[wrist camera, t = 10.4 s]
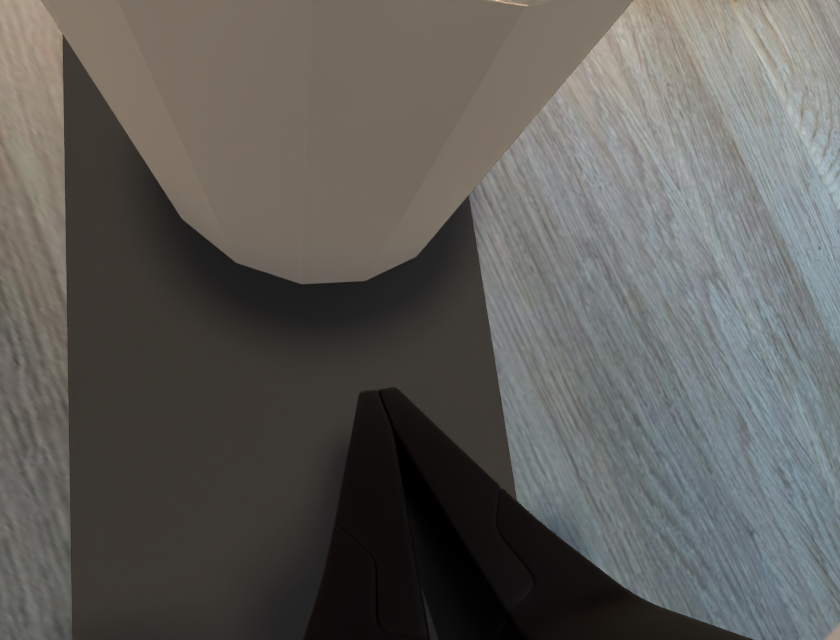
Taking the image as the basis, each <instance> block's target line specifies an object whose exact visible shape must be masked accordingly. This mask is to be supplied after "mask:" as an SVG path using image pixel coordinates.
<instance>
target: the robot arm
mask: <svg viewBox="0 0 840 640" xmlns="http://www.w3.org/2000/svg"><path fill="white" fill-rule="evenodd" d="M500 488H501V487H500V485H499V484H498V483H497V482H496V481H495V480H494V479H493V478H492V477H491V476H490V475H489V474H487V473H486V472H485V471H484V470H483V469H482V468H481V467H480V466H479V465H478V464H477V463H476V462H475V461H474V460H473V459H472V458H471V457H470V456H469V455H467V454H466V453H465V452H464V451H463V450H462V449H461V448H460V447H459V446H458V445H457V444H456V443H455V442H454V441H453V440H452V439H451V438H450V437H448V436H447V435H446V434H445V433H444V432H443V431H442V430H441V429H440V428H439V427H438V426H437V425H436V424H435V423H434V422H433V421H432V420H431V419H429V418H428V417H427V416H426V415H425V414H424V413H423V412H422V411H421V410H420V409H419V408H418V407H417V406H416V405H415V404H414V403H413V402H412V401H410V400H409V399H408V398H407V397H406V396H405V395H404V394H403V393H402V392H401V391H400V390H399V389H398V388H396V387H390V388H383V389H380V390H378V391H377V390H368V391H361V392H360V393H359V397H358V402H357V407H356V412H355V418H354V423H353V428H352V433H351V438H350V444H349V449H348V454H347V459H346V464H345V470H344V475H343V480H342V485H341V490H340V496H339V501H338V506H337V511H336V516H335V522H334V527H333V531H332V536H331V541H330V547H329V551H328V555H327V560H326V564H325V568H324V573H323V576H322V580H321V583H320V586H319V590H318V593H317V597H316V600H315V603H314V607H313V610H312V613H311V616H310V619H309V622H308V625H307V628H306V631H305V634H304V637H303V640H430V635H429V629H428V623H427V618H426V612H425V606H424V601H423V595H422V590H423V593H424V597H425V600H426V603H427V606H428V609H429V612H430V615H431V618H432V621H433V624H434V628H435V631H436V634H437V637H438V640H753V639H750V638H747V637H744V636H742V635H739V634H736V633H733V632H730V631H727V630H725V629H722V628H719V627H716V626H713V625H710V624H707V623H705V622H702V621H699V620H696V619H693V618H690V617H688V616H685V615H682V614H679V613H676V612H673V611H671V610H668V609H665V608H662V607H659V606H657V605H655V604H652V603H650V602H648V601H646V600H644V599H642V598H641V597H639V596H637V595H635V594H634V593H632V592H630V591H629V590H627V589H626V588H624V587H623V586H621V585H620V584H619V583H617V582H616V581H615V580H613V579H612V578H611V577H609V576H608V575H607V574H606V573H604V572H603V571H602V570H600V569H599V568H598V567H597V566H595V565H594V564H593V563H591V562H590V561H589V560H588V559H586V558H585V557H584V556H583V555H581V554H580V553H579V552H577V551H576V550H575V549H574V548H572V547H571V546H570V545H568V544H567V543H566V542H565V541H563V540H562V539H561V538H559V537H558V536H557V535H556V534H555V533H553V532H552V531H551V530H550V529H548V528H547V527H546V526H545V525H543V524H542V523H541V522H540V521H539V520H537V519H536V518H535V517H534V516H533V515H532V514H531V513H529V512H528V511H527V510H526V509H525V508H524V507H523V506H522V505H521V504H519V503H518V502H517V501H516V500H515V499H514V498H513V497H512V496H511V495H510V494H509V493H508V492H507V491H506V490H505V489H503V488H501V489H500ZM421 587H422V589H421Z"/></svg>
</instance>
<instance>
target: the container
mask: <svg viewBox="0 0 840 640" xmlns="http://www.w3.org/2000/svg"><path fill="white" fill-rule="evenodd" d="M41 1H42V2H43V4H44V5H45V7H46V9H47V10H48V12H49V13H50V15H51V16H52V18H53V19H54V21H55V23H56V24H57V26H58V27H59V29H60V30H61V32H62V33H63V35H64V37H65V38H66V40H67V41H68V43H69V44H70V46H71V47H72V49H73V51H74V52H75V54H76V55H77V57H78V58H79V60H80V61H81V63H82V64H83V66H84V68H85V69H86V71H87V72H88V74H89V75H90V77H91V78H92V80H93V82H94V83H95V85H96V86H97V88H98V89H99V91H100V92H101V94H102V96H103V97H104V99H105V100H106V102H107V103H108V105H109V106H110V108H111V110H112V111H113V113H114V114H115V116H116V117H117V119H118V120H119V122H120V124H121V125H122V127H123V128H124V130H125V131H126V133H127V134H128V136H129V138H130V139H131V141H132V142H133V144H134V145H135V147H136V148H137V150H138V151H139V153H140V155H141V156H142V158H143V159H144V161H145V162H146V164H147V165H148V167H149V169H150V170H151V172H152V173H153V175H154V176H155V178H156V179H157V181H158V183H159V184H160V186H161V187H162V189H163V190H164V192H165V193H166V195H167V197H168V198H169V200H170V201H171V203H172V204H173V206H174V207H175V209H176V211H177V212H178V214H179V215H180V217H181V218H182V219H183V220H184V221H185V222H186V223H188V224H189V225H190V226H191V227H193V228H194V229H195V230H196V231H197V232H199V233H200V234H201V235H202V236H204V237H205V238H206V239H207V240H209V241H210V242H211V243H212V244H213V245H215V246H216V247H217V248H218V249H220V250H221V251H222V252H223V253H225V254H226V255H227V256H228V257H230V258H231V259H232V260H233V261H234V262H236V263H238V264H241V265H244V266H247V267H250V268H253V269H256V270H259V271H263V272H266V273H269V274H272V275H275V276H278V277H281V278H284V279H287V280H290V281H293V282H296V283H299V284H316V283H336V282H356V281H366V280H368V279H370V278H373V277H375V276H377V275H379V274H381V273H383V272H385V271H387V270H389V269H391V268H394V267H396V266H398V265H400V264H402V263H404V262H406V261H408V260H410V259H412V258H415V257H417V255H418V254H419V253H420V252H421V251H422V250H423V248H424V247H425V246H426V245H427V244H428V242H429V241H430V240H431V239H432V238H433V237H434V235H435V234H436V233H437V232H438V231H439V229H440V228H441V227H442V226H443V225H444V224H445V222H446V221H447V220H448V219H449V218H450V216H451V215H452V214H453V213H454V212H455V211H456V209H457V208H458V207H459V206H460V205H461V203H462V202H463V201H464V200H465V199H466V198H467V196H468V195H469V194H470V193H471V192H472V190H473V189H474V188H475V187H476V186H477V185H478V183H479V182H480V181H481V180H482V179H483V177H484V176H485V175H486V174H487V173H488V172H489V170H490V169H491V168H492V167H493V166H494V164H495V163H496V162H497V161H498V160H499V159H500V157H501V156H502V155H503V154H504V153H505V151H506V150H507V149H508V148H509V147H510V146H511V144H512V143H513V142H514V141H515V140H516V138H517V137H518V136H519V135H520V134H521V133H522V131H523V130H524V129H525V128H526V127H527V125H528V124H529V123H530V122H531V121H532V120H533V118H534V117H535V116H536V115H537V114H538V112H539V111H540V110H541V109H542V108H543V107H544V105H545V104H546V103H547V102H548V101H549V99H550V98H551V97H552V96H553V95H554V94H555V92H556V91H557V90H558V89H559V88H560V86H561V85H562V84H563V83H564V82H565V81H566V79H567V78H568V77H569V76H570V75H571V73H572V72H573V71H574V70H575V69H576V68H577V66H578V65H579V64H580V63H581V62H582V60H583V59H584V58H585V57H586V56H587V55H588V53H589V52H590V51H591V50H592V49H593V47H594V46H595V45H596V44H597V43H598V42H599V40H600V39H601V38H602V37H603V36H604V34H605V33H606V32H607V31H608V30H609V29H610V27H611V26H612V25H613V24H614V23H615V22H616V20H617V19H618V18H619V17H620V16H621V14H622V13H623V12H624V11H625V10H626V9H627V7H628V6H629V5H630V4H631V3H632V1H633V0H41Z"/></svg>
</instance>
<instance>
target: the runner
mask: <svg viewBox="0 0 840 640" xmlns="http://www.w3.org/2000/svg"><path fill="white" fill-rule="evenodd" d="M63 83H64V144H65V205H66V266H67V327H68V388H69V449H70V510H71V571H72V632H73V640H303V637H304V634H305V631H306V628H307V625H308V622H309V619H310V616H311V613H312V610H313V607H314V603H315V600H316V597H317V593H318V590H319V586H320V583H321V580H322V576H323V573H324V568H325V564H326V560H327V555H328V551H329V547H330V541H331V536H332V531H333V527H334V522H335V516H336V511H337V506H338V501H339V496H340V490H341V485H342V480H343V475H344V470H345V464H346V459H347V454H348V449H349V444H350V438H351V433H352V428H353V423H354V418H355V412H356V407H357V402H358V397H359V393H360V392H361V391H368V390H377V391H378V390H380V389H383V388H390V387H396V388H398V389H399V390H400V391H401V392H402V393H403V394H404V395H405V396H406V397H407V398H408V399H409V400H410V401H412V402H413V403H414V404H415V405H416V406H417V407H418V408H419V409H420V410H421V411H422V412H423V413H424V414H425V415H426V416H427V417H428V418H429V419H431V420H432V421H433V422H434V423H435V424H436V425H437V426H438V427H439V428H440V429H441V430H442V431H443V432H444V433H445V434H446V435H447V436H448V437H450V438H451V439H452V440H453V441H454V442H455V443H456V444H457V445H458V446H459V447H460V448H461V449H462V450H463V451H464V452H465V453H466V454H467V455H469V456H470V457H471V458H472V459H473V460H474V461H475V462H476V463H477V464H478V465H479V466H480V467H481V468H482V469H483V470H484V471H485V472H486V473H487V474H489V475H490V476H491V477H492V478H493V479H494V480H495V481H496V482H497V483H498V484H499V485H500V487H501V488H503V489H505V490H506V491H507V492H508V493H509V494H510V495H511V496H512V497H513V498H514V499H515V500H516V501H517V498H516V492H515V486H514V479H513V473H512V467H511V460H510V454H509V448H508V441H507V435H506V429H505V422H504V416H503V410H502V403H501V397H500V391H499V384H498V378H497V372H496V365H495V359H494V353H493V346H492V340H491V334H490V328H489V321H488V315H487V309H486V302H485V296H484V290H483V283H482V277H481V271H480V264H479V258H478V252H477V245H476V239H475V233H474V226H473V220H472V214H471V207H470V201H469V195H468V196H467V198H466V199H465V200H464V201H463V202H462V203H461V205H460V206H459V207H458V208H457V209H456V211H455V212H454V213H453V214H452V215H451V216H450V218H449V219H448V220H447V221H446V222H445V224H444V225H443V226H442V227H441V228H440V229H439V231H438V232H437V233H436V234H435V235H434V237H433V238H432V239H431V240H430V241H429V242H428V244H427V245H426V246H425V247H424V248H423V250H422V251H421V252H420V253H419V254H418V255H417V257H415V258H412V259H410V260H408V261H406V262H404V263H402V264H400V265H398V266H396V267H394V268H391V269H389V270H387V271H385V272H383V273H381V274H379V275H377V276H375V277H373V278H370V279H368V280H366V281H356V282H336V283H316V284H299V283H296V282H293V281H290V280H287V279H284V278H281V277H278V276H275V275H272V274H269V273H266V272H263V271H259V270H256V269H253V268H250V267H247V266H244V265H241V264H238V263H236V262H234V261H233V260H232V259H231V258H230V257H228V256H227V255H226V254H225V253H223V252H222V251H221V250H220V249H218V248H217V247H216V246H215V245H213V244H212V243H211V242H210V241H209V240H207V239H206V238H205V237H204V236H202V235H201V234H200V233H199V232H197V231H196V230H195V229H194V228H193V227H191V226H190V225H189V224H188V223H186V222H185V221H184V220H183V219H182V218H181V217H180V215H179V214H178V212H177V211H176V209H175V207H174V206H173V204H172V203H171V201H170V200H169V198H168V197H167V195H166V193H165V192H164V190H163V189H162V187H161V186H160V184H159V183H158V181H157V179H156V178H155V176H154V175H153V173H152V172H151V170H150V169H149V167H148V165H147V164H146V162H145V161H144V159H143V158H142V156H141V155H140V153H139V151H138V150H137V148H136V147H135V145H134V144H133V142H132V141H131V139H130V138H129V136H128V134H127V133H126V131H125V130H124V128H123V127H122V125H121V124H120V122H119V120H118V119H117V117H116V116H115V114H114V113H113V111H112V110H111V108H110V106H109V105H108V103H107V102H106V100H105V99H104V97H103V96H102V94H101V92H100V91H99V89H98V88H97V86H96V85H95V83H94V82H93V80H92V78H91V77H90V75H89V74H88V72H87V71H86V69H85V68H84V66H83V64H82V63H81V61H80V60H79V58H78V57H77V55H76V54H75V52H74V51H73V49H72V47H71V46H70V44H69V43H68V41H67V40H66V38H65V37H64V35H63ZM501 488H500V489H501ZM421 589H422V587H421ZM422 595H423V601H424V606H425V612H426V618H427V623H428V629H429V635H430V640H438V637H437V634H436V631H435V628H434V624H433V621H432V618H431V615H430V612H429V609H428V606H427V603H426V600H425V597H424V593H423V590H422Z"/></svg>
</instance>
